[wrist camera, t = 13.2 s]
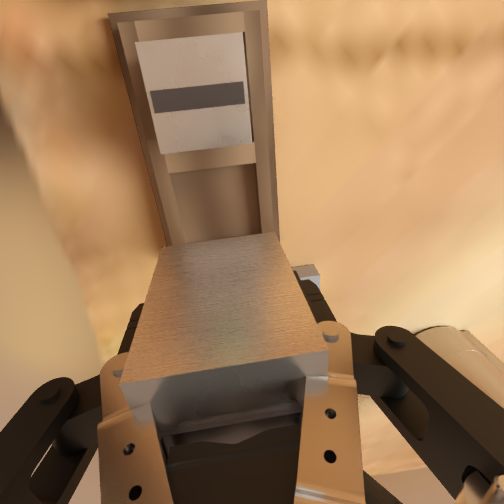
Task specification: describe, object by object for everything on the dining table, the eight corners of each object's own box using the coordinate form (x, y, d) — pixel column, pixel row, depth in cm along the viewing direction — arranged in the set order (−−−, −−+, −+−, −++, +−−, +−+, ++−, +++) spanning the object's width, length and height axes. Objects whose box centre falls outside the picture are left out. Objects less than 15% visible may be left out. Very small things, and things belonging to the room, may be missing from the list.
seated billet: (232, 50, 20) (242, 31, 14) (240, 129, 23) (252, 143, 16) (158, 57, 20) (133, 41, 14) (174, 137, 22) (160, 154, 16)
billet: (274, 231, 13) (331, 354, 7) (280, 317, 16) (325, 466, 10) (161, 246, 13) (117, 389, 7) (184, 332, 15) (166, 496, 9)
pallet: (264, 3, 20) (271, -7, 18) (278, 242, 29) (283, 255, 26) (112, 17, 19) (99, 7, 17) (173, 257, 28) (169, 271, 26)
